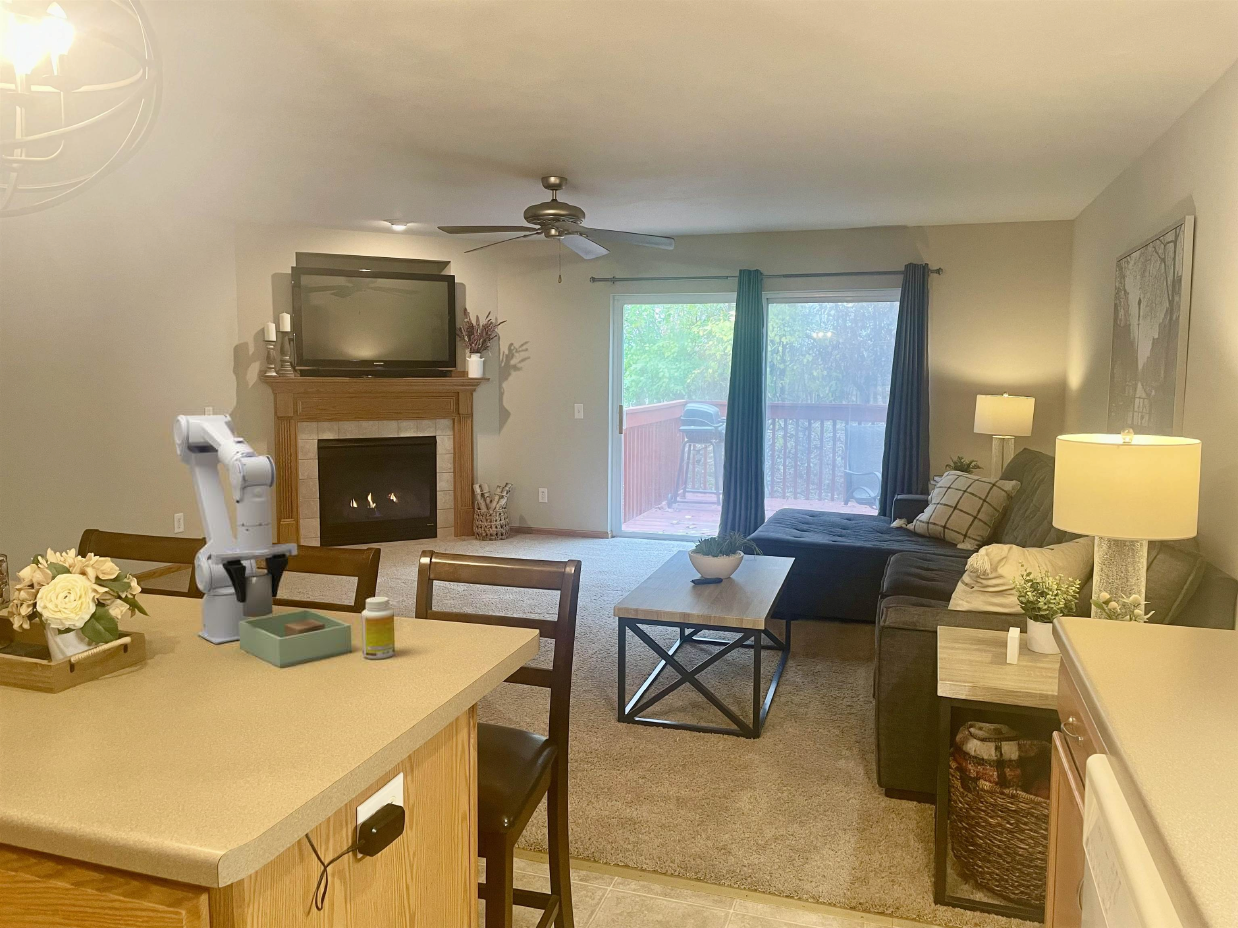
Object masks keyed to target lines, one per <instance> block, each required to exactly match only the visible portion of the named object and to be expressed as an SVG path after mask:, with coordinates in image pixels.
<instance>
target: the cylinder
mask: <svg viewBox="0 0 1238 928" xmlns="http://www.w3.org/2000/svg"><path fill="white" fill-rule="evenodd" d="M245 596H246V598H245V602H244V603H242V607H243V616H246V617H249V618H261V617H267V616H271V614H272V615H273V611H274V609H273V598H272V575H271V573H268V572H267V571H262V572H261V571H259V572H258V571H257V572H255V573H248V574H245Z"/></svg>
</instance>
